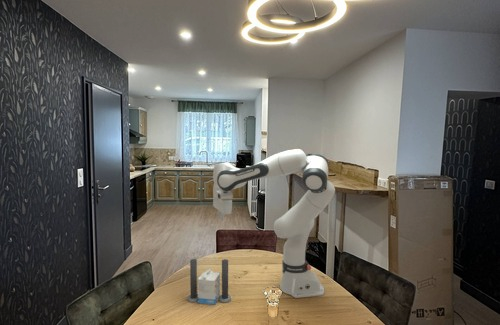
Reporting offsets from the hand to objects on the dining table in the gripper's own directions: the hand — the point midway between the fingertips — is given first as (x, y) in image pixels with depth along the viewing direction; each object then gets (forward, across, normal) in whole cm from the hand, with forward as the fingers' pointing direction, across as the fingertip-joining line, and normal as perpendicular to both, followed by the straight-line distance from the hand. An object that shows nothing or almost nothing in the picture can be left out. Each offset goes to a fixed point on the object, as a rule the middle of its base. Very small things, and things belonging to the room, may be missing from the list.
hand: (221, 219), depth 143 cm
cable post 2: (+35, +14, -3) cm, 38 cm away
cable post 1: (+35, +8, -17) cm, 40 cm away
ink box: (+35, +11, -10) cm, 38 cm away
